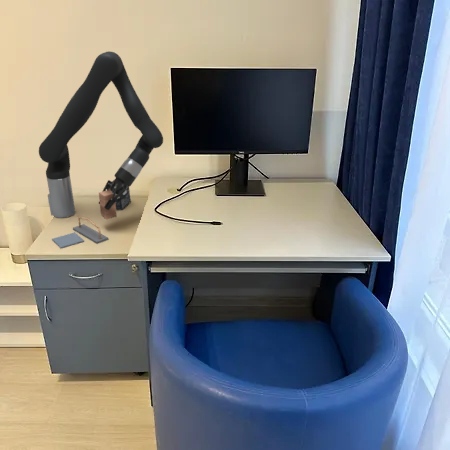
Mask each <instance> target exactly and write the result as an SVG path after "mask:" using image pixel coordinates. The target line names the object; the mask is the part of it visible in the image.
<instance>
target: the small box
mask: <svg viewBox="0 0 450 450" xmlns="http://www.w3.org/2000/svg"><path fill="white" fill-rule="evenodd" d="M126 191H128V194H127V195H126V196H125V197H124V198H123V199H122V200H121V201H120V202H119V203H117V202H116V203H115V204H116V211H123V210H124V209H126V207H128V205H129V204H130V203H131V202H132V201H131V200H132V199H131V191H130V186H127V187H126ZM118 199H119V198H118Z"/></svg>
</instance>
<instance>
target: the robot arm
mask: <svg viewBox="0 0 450 450" xmlns="http://www.w3.org/2000/svg"><path fill="white" fill-rule="evenodd" d="M111 82H112V84H113V86H114V87H115V89H116V90H117V92H118V94H119V97H120V100H121V102H122V103H121V104H122V105H123V108H124V109H125V111H126V114H127V115H128V117H129V119H130V121H131V122H132V124H133V125H134V126H135V128H136V129H138V130H139V132H140V133H141V136H140V138H139V139H138V141H137V144H136V145H135V147H134V149H133V150H132V152H130V154H129V155H128V157H127V158H126V159H125V160H124V162H123V163H122V164H121V165H120V167H119V168H118V169H117V171H116V172H115V174H114V179H113V180H109V179H108V180H107V182H106V183H105V185H104V187H103V190H102V191H101V192H103V191H111V192H112V194H113V195H112V196H111V198H110V200H109V201H108V202H107V204H106V205H105V206H104V208H106V209H107V210H109V209H110V208H111V207H112V205H113V204H114V203H116V202H117V203H119V202H120V201H121V200H122V199H123V198H124V197H125V196H126V195H127V194H128V191H126V187H127V186H129V187H131V186H132V184H134V182H135V180H136V179H137V178H138V176H139V175H140V173H141V172H142V170H143V168H144V167H145V166H146V164H147V162H148V161H149V159H150V155H151V153H152V151H153V150H154V149H159V148H160V147H161V146H162V145H163V143H164V136H163V134H162V132H161V131H160V128H159V127H158V126H157V124H155V122H154V121H153V120H152V118H151V117H150V115H149V113H148V111H147V109H146V108H145V106H144V104H143V103H142V101H141V100H140V98H139V96H138V94H137V92H136V90H135V89H134V85H133V84H132V82H131V79H130V77H129V75H128V72H127V70H126V68H125V65H124V63H123V60H122V58H121V56H119V54H118V53H116V52H114V51H109V50H108V51H105V52H102V53H100V54H99V55H98V56H96V58H95V59H94V61H93V63H92V66H91V68H90V70H89V72H88V74H87V76H86V77H85V80H84V81H83V83H82V84H81V85H80V86H79V87H78V89H76V91H75V92H74V94H73V96H71V98H70V100H69V101H68V103H67V105H66V106H65V108H64V109H63V111H62V113H61V115H60V116H59V117H58V120H57V122H56V123H55V125H54V127H53V128H52V130H51V131H50V132H49V134H48V135H47V136H46V137H45V138H44V139H43V141H42V142H41V143H40V144H39V147H38V156H39V158H40V159H41V160H42V161H43V162H45V163H47V168H46V169H45V176H46V182H47V188H48V194H47V200H48V205H49V211H50V212H49V213H50V216H53V217H55V218H58V219H59V218H61V219H63V218H68V217H73V216H74V215H75V214H76V208H75V201H74V193H73V188H72V187H73V186H72V181H71V175H70V174H71V173H70V171H71V159H70V152H69V147H68V143H69V142H70V141H71V139H72V138H73V137H74V136H75V135H76V134H77V133H78V132H79V131H80V130H81V129H82V128H83V127H84V126H85V125H86V123H87V122H88V121H89V119H90V118H91V116H92V115H93V113H94V112H95V110H96V108H97V105H98V102H99V100H100V97H101V96H102V93H103V92H104V91H105V90H106V88H107V87H108V85H110V83H111ZM114 196H115V197H114ZM118 198H119V199H118ZM98 204H99V205H100V200H99V201H98Z"/></svg>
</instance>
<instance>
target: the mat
mask: <svg viewBox="0 0 450 450" xmlns="http://www.w3.org/2000/svg"><path fill="white" fill-rule="evenodd" d="M51 240H52V242H53V243H54V244H56V245H57V246H58V247H59V248H60V249H64V248H67V247H71V246H73V245H74V246H75V245H77V244H81V243H84V242H85V240H84V239H83V238H82V237H81V236H80V235H78V233H77V232H76V231H74V232H72V233H67V234H64V235H60V236H57V237H54V238H51Z"/></svg>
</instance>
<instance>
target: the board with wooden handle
mask: <svg viewBox="0 0 450 450" xmlns="http://www.w3.org/2000/svg"><path fill="white" fill-rule="evenodd" d="M81 219H82V220H86V221H87V222H90V223H91V224H92V225H93V226H94V227H95V228H96V229H98V231H97V230H95V229H94V228H91V227H90V226H88V225H86V224H84V223H83V224H81ZM77 221H78V225H77V226H74V227H72V230H73V231H74V232H75V233H77V234H79V235H81V236H82V237H85V238H86V239H88V240H89V241H91V242H93V243H94V244H97V245H98V244H101V243H103V242H106V241H109V237H108V236H106V235H104V234H103V233H102V232H101V228H100V226H99V225H97V224H96V223H94V221H92V220H91V219H90V218H88V217H83V216H77Z"/></svg>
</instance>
